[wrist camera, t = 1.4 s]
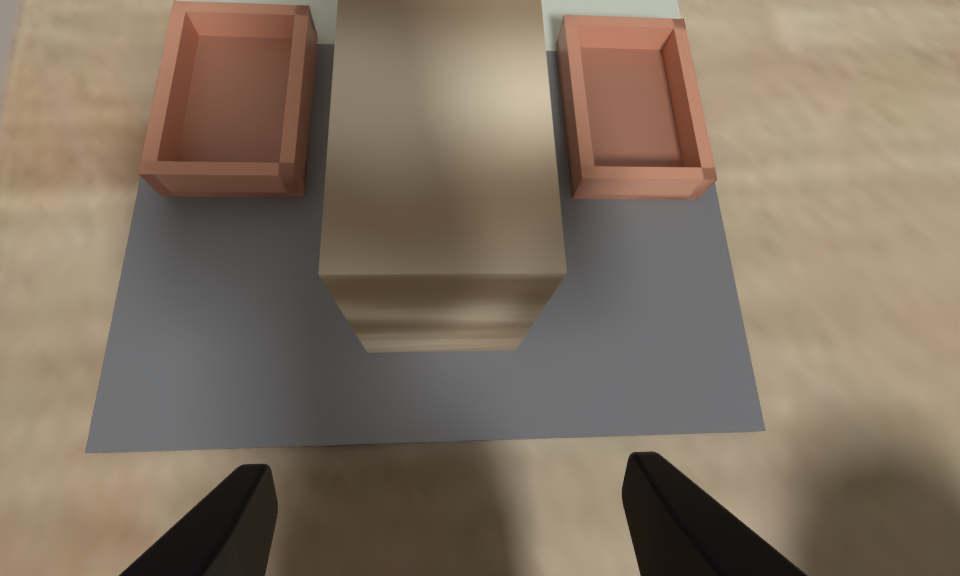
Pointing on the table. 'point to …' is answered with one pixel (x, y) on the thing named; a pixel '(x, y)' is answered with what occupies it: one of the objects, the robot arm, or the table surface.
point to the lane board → (417, 375)
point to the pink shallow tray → (632, 109)
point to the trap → (232, 101)
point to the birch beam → (441, 174)
